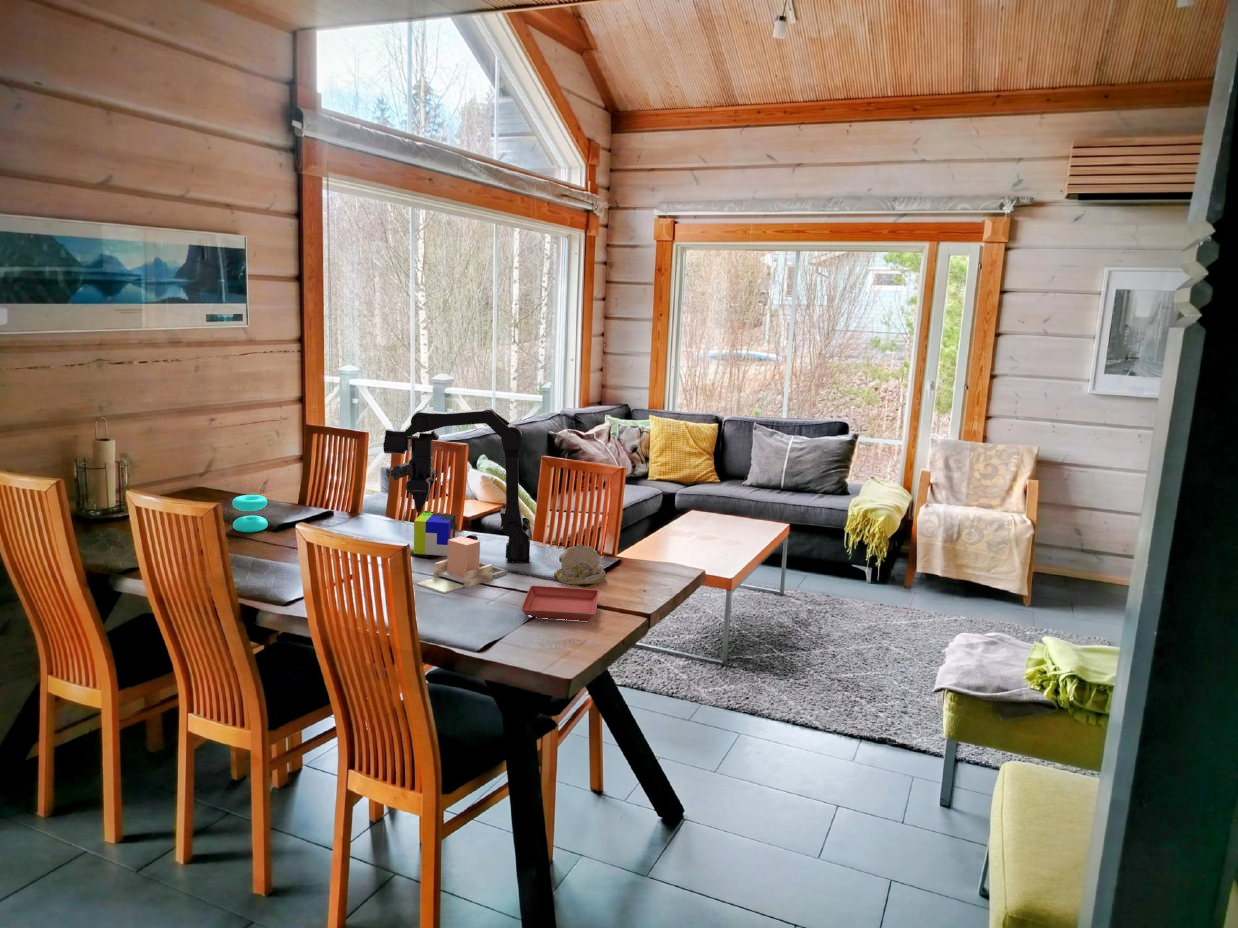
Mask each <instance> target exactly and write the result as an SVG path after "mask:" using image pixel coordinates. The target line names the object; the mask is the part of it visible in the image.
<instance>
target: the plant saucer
mask: <svg viewBox="0 0 1238 928" xmlns="http://www.w3.org/2000/svg"><path fill="white" fill-rule="evenodd" d="M599 595H600V590H599V589H593V588H592V589H591V588H575V587H574V588H573V587H562V586H561V587H560V586H545V585H544V586H543V585H530V586H529V588H528V591H527V594H526V596H525V598H524V600H523V603H522V605H521V607H520V610H521V611H522V612H523V613H524V615H525V616H526V615H531V616H535V617H537V618H548V619H565V620H566V619H567V620H579V621H588V622H590V620H591V619H592V618H593V617H594V616H595V615H596V613H597V606H598V602H599V601H598V600H599Z"/></svg>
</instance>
